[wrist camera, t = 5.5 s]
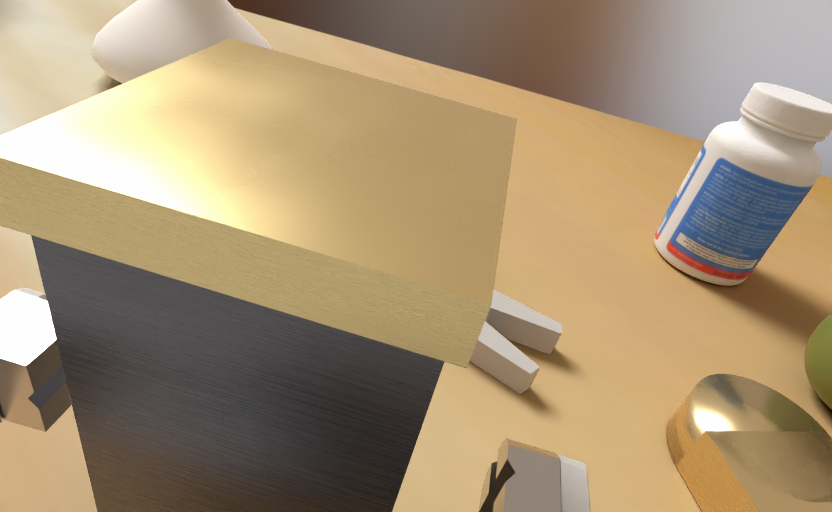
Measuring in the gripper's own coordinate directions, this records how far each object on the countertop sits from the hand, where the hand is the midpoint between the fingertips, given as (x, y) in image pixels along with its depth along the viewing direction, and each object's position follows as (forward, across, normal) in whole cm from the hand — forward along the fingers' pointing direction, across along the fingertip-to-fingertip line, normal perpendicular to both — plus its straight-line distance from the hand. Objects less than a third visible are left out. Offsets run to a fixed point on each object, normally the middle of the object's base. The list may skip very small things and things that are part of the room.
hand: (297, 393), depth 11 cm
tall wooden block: (-1, 0, +6) cm, 6 cm away
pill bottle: (+22, -16, +6) cm, 28 cm away
